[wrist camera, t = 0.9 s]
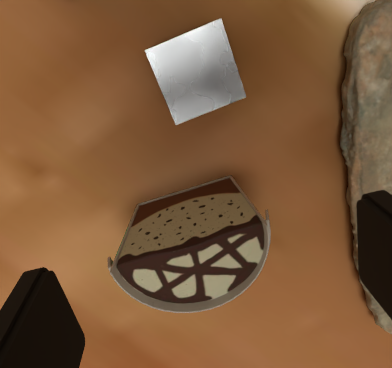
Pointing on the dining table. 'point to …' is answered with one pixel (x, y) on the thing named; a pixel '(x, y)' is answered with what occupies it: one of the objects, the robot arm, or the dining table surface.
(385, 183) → the elongated rock
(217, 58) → the brushed metal cube
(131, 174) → the dining table surface
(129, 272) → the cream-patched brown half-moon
